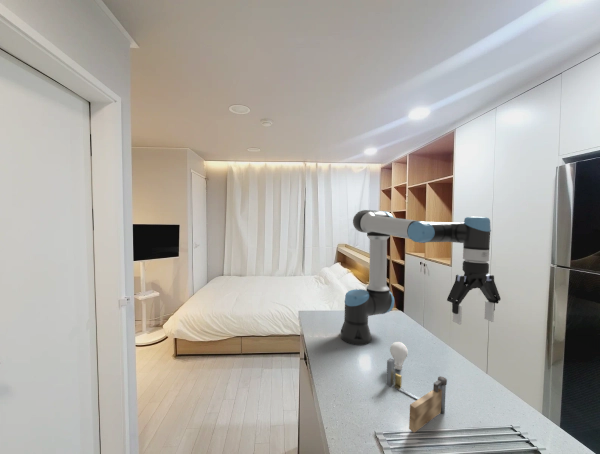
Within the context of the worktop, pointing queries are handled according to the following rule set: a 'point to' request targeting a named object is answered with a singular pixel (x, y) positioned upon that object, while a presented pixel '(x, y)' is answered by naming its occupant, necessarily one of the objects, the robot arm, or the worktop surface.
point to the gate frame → (399, 379)
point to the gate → (426, 406)
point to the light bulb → (398, 354)
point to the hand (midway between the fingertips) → (473, 321)
